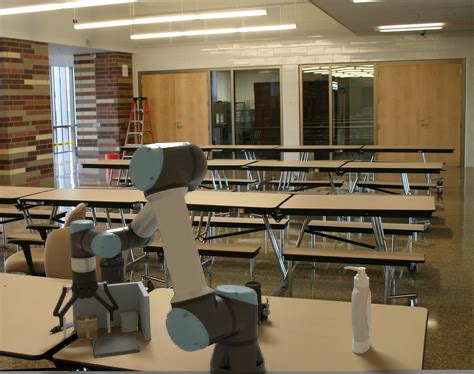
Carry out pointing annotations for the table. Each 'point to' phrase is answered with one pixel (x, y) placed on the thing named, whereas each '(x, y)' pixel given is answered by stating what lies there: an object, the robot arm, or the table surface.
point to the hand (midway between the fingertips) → (87, 334)
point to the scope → (259, 301)
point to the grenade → (112, 269)
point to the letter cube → (87, 326)
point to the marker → (57, 328)
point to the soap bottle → (360, 311)
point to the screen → (127, 301)
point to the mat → (115, 345)
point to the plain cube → (129, 321)
